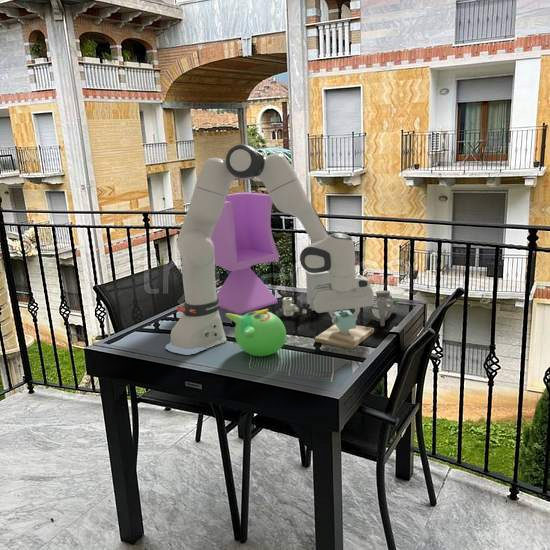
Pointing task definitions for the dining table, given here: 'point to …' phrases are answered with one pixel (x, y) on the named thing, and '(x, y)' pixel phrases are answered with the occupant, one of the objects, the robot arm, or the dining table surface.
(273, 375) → the dining table surface
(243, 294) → the chair
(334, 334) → the oak plate
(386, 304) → the mechanical component
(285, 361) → the dining table surface
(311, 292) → the skincare box
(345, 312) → the teal collar
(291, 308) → the valve
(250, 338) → the toy bird
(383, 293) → the pipe fitting
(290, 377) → the dining table surface
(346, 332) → the steel key shaft
